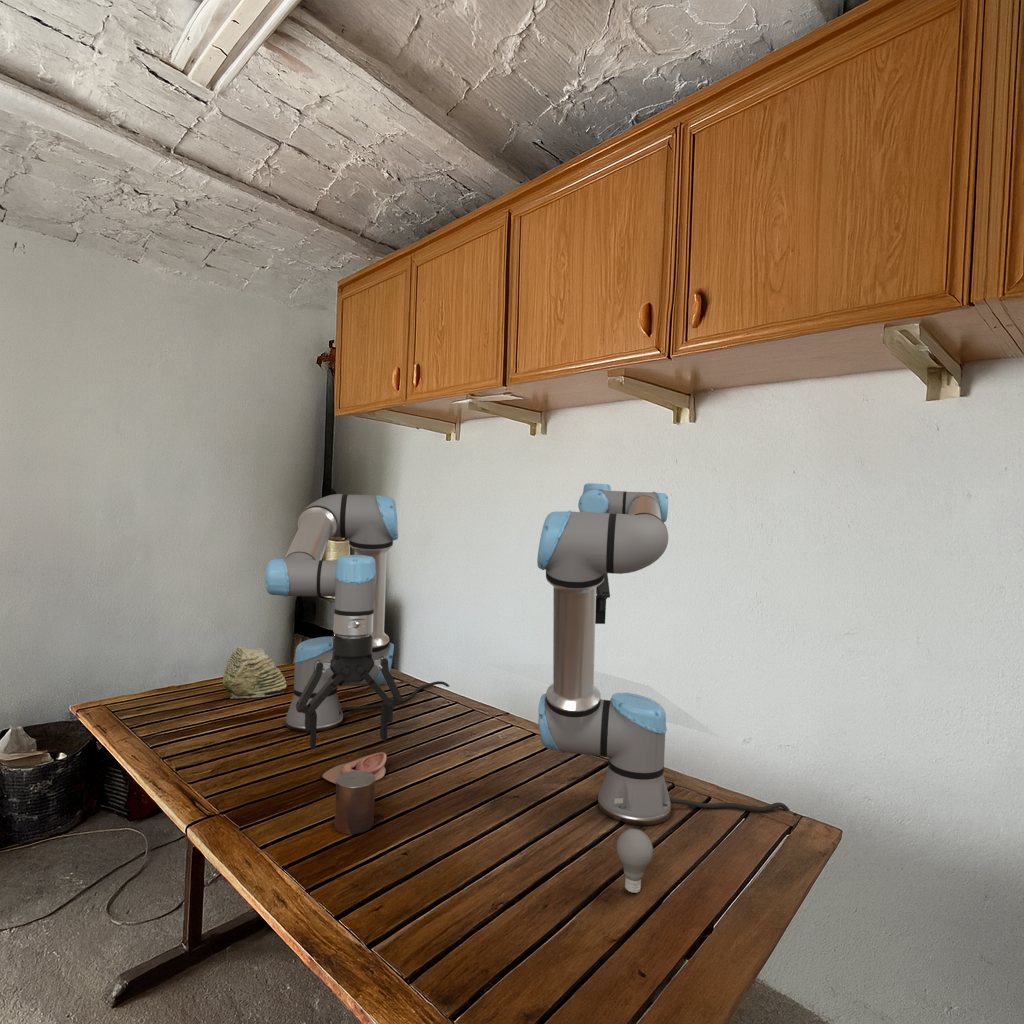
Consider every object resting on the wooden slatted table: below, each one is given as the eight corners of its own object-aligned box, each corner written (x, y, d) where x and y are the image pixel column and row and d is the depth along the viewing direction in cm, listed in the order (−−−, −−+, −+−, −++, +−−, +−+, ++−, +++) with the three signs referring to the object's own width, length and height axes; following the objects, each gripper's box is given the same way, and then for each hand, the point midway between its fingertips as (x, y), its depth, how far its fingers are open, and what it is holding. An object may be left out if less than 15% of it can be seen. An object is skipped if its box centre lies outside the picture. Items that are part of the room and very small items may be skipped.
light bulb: (610, 879, 108) (613, 822, 108) (644, 879, 109) (647, 822, 109) (619, 902, 102) (622, 840, 102) (655, 901, 103) (658, 840, 103)
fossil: (218, 695, 195) (220, 647, 195) (278, 685, 208) (279, 640, 207) (228, 703, 189) (230, 653, 188) (289, 692, 201) (290, 645, 201)
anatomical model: (316, 763, 140) (340, 744, 151) (315, 781, 140) (339, 761, 151) (372, 771, 137) (392, 751, 149) (371, 789, 138) (391, 768, 149)
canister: (361, 811, 129) (362, 767, 128) (381, 825, 123) (382, 780, 123) (327, 822, 123) (329, 777, 123) (346, 838, 118) (348, 791, 118)
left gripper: (287, 642, 115) (282, 758, 115) (420, 635, 125) (416, 742, 126) (284, 633, 122) (279, 743, 122) (410, 628, 132) (406, 729, 132)
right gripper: (568, 537, 183) (564, 610, 183) (596, 543, 158) (593, 628, 159) (593, 537, 184) (589, 610, 185) (625, 544, 160) (621, 628, 160)
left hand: (348, 743), depth 124 cm, fingers open, 13 cm apart
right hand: (591, 618), depth 172 cm, fingers open, 13 cm apart
